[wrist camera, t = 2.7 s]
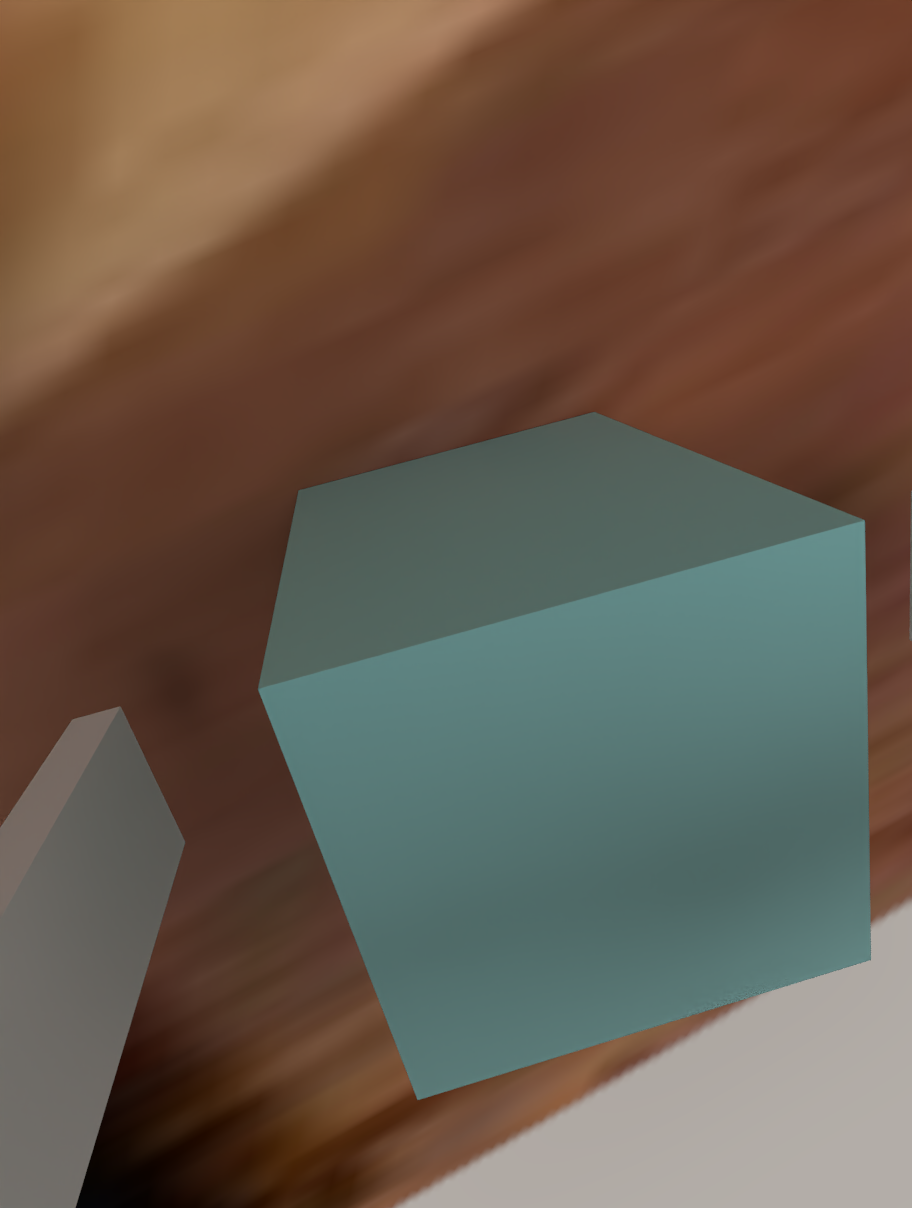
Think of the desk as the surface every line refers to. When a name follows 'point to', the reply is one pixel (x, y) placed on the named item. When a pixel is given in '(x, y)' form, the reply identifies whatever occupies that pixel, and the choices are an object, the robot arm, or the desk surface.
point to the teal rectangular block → (575, 737)
